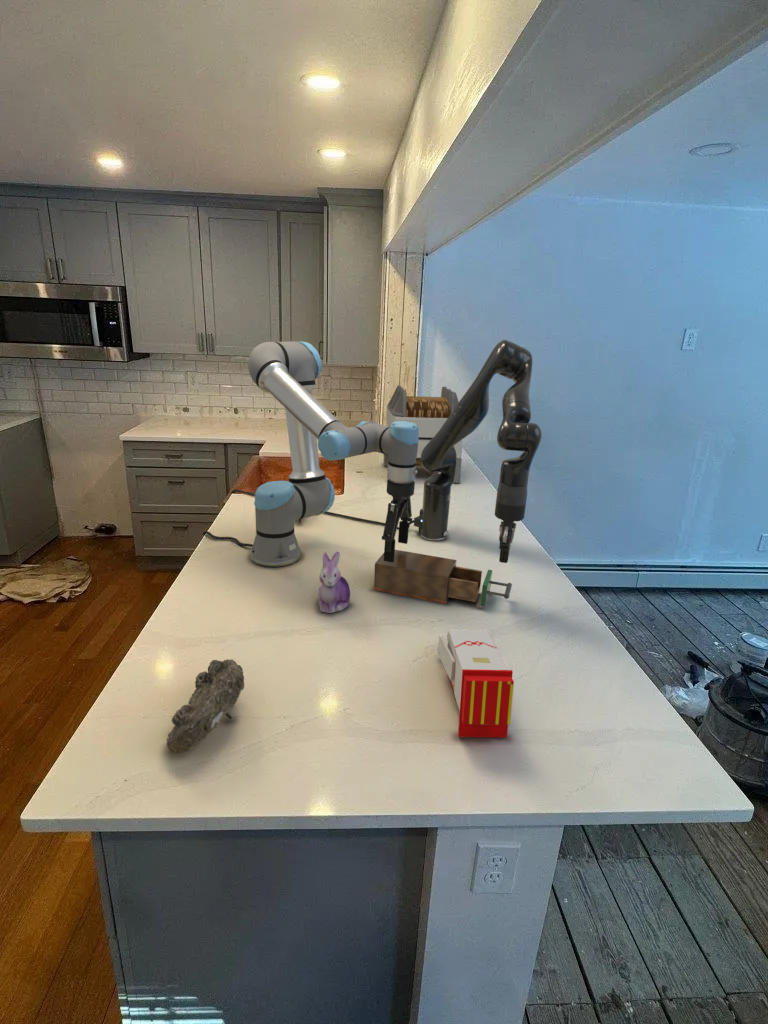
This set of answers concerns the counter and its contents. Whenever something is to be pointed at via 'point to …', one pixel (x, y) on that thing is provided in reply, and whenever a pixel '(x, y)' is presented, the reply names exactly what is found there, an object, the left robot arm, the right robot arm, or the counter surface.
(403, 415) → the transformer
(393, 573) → the cabinet
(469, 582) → the drawer
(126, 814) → the counter surface
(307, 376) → the left robot arm
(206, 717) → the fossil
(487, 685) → the toy
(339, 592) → the figurine
